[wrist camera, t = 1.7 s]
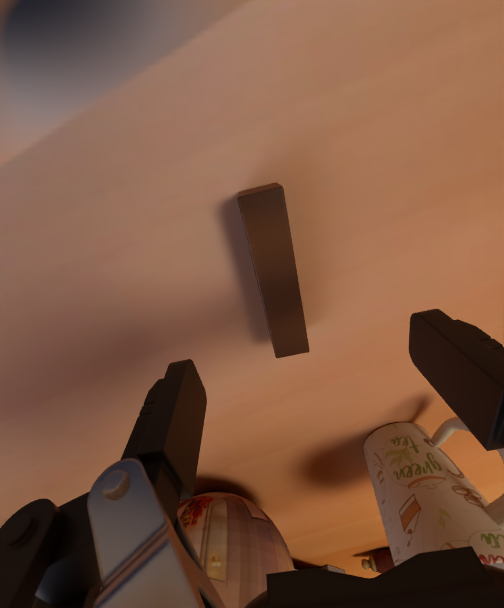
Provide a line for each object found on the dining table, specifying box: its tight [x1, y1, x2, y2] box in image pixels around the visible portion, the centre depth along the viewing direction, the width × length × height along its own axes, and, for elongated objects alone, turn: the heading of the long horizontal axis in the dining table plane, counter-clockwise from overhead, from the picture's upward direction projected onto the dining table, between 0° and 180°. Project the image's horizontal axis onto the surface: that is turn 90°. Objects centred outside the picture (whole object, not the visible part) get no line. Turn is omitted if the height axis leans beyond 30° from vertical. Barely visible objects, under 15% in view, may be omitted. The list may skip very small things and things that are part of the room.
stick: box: [238, 183, 309, 358], centre depth 16 cm, size 10×2×2 cm, turn 13°
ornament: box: [177, 492, 295, 608], centre depth 23 cm, size 15×15×15 cm
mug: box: [363, 417, 504, 569], centre depth 20 cm, size 8×13×10 cm, turn 161°
